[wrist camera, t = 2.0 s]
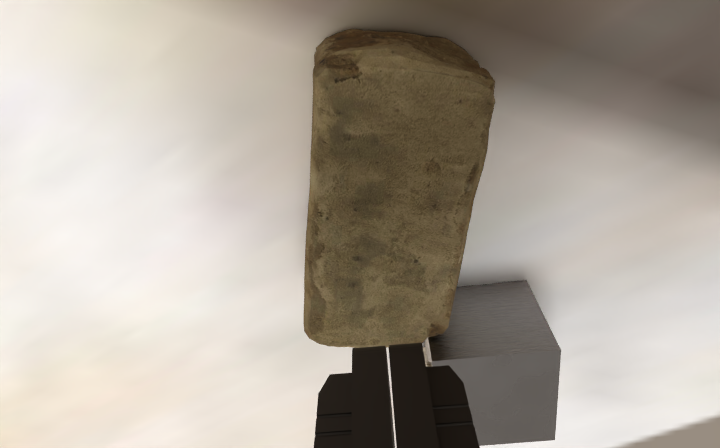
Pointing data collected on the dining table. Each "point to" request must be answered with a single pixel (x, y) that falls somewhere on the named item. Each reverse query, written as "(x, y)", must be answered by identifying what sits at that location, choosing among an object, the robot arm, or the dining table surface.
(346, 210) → the stone block
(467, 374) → the charcoal block
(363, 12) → the dining table surface
